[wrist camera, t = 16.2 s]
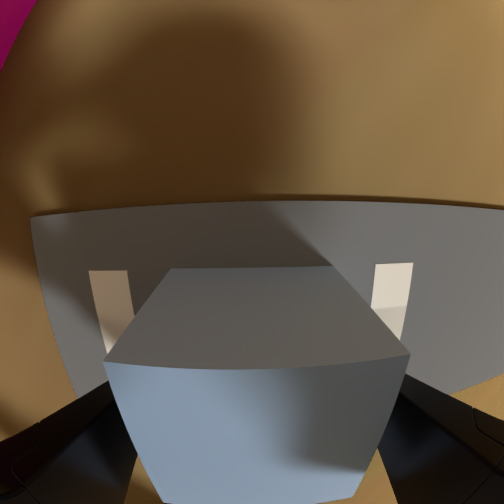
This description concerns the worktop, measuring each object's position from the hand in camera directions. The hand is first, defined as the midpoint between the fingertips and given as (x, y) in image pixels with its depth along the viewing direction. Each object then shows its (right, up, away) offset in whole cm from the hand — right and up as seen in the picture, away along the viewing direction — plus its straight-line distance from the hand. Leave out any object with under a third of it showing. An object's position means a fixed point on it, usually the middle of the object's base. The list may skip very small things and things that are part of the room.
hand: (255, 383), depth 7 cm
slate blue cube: (0, +1, +2) cm, 2 cm away
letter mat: (+3, +1, +2) cm, 4 cm away
